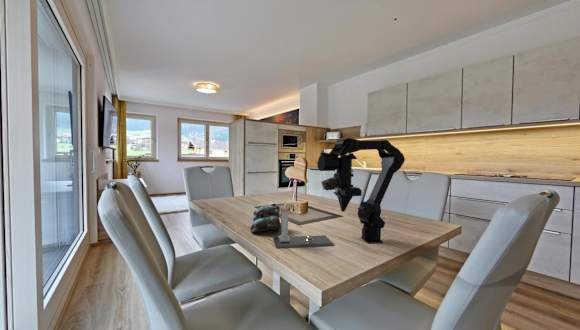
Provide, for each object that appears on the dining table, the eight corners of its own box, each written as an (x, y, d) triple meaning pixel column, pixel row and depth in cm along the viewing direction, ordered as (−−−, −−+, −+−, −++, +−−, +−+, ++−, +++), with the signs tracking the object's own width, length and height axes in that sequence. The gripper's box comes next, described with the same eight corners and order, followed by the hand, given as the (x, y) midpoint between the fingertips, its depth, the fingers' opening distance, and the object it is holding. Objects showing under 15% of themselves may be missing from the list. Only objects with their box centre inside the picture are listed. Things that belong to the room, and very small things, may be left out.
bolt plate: (325, 237, 99) (325, 231, 99) (332, 245, 90) (332, 238, 90) (273, 239, 95) (273, 233, 95) (275, 248, 86) (275, 241, 86)
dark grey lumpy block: (243, 233, 102) (244, 202, 109) (259, 237, 112) (259, 208, 118) (273, 227, 96) (272, 195, 103) (287, 232, 106) (285, 202, 112)
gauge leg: (288, 237, 94) (288, 207, 94) (290, 241, 89) (290, 209, 89) (278, 238, 93) (279, 207, 93) (279, 242, 89) (280, 210, 88)
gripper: (316, 169, 98) (316, 206, 99) (332, 172, 80) (331, 217, 80) (342, 169, 100) (341, 206, 101) (362, 172, 82) (361, 216, 82)
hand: (342, 211), depth 91 cm, fingers closed
